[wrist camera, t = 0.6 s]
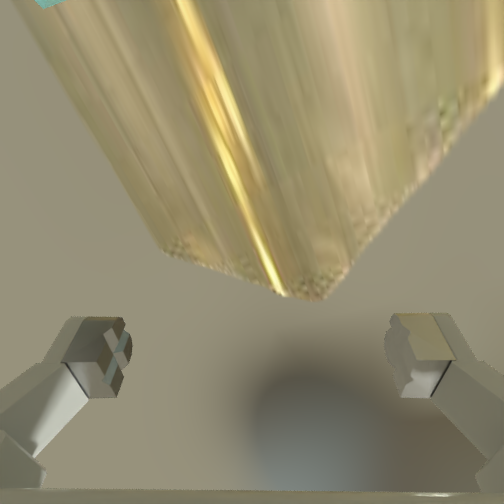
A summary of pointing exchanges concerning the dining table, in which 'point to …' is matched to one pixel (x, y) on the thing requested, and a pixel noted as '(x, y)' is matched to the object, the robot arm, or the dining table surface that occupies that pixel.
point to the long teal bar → (48, 2)
